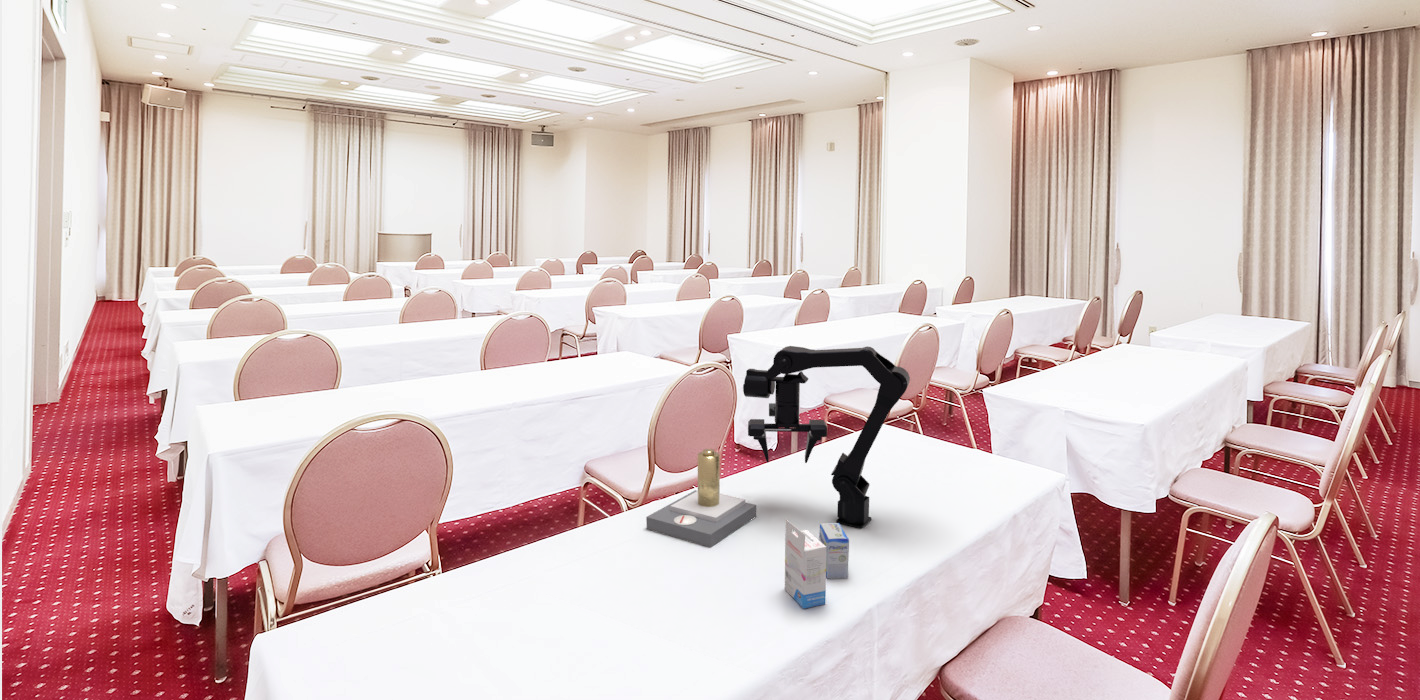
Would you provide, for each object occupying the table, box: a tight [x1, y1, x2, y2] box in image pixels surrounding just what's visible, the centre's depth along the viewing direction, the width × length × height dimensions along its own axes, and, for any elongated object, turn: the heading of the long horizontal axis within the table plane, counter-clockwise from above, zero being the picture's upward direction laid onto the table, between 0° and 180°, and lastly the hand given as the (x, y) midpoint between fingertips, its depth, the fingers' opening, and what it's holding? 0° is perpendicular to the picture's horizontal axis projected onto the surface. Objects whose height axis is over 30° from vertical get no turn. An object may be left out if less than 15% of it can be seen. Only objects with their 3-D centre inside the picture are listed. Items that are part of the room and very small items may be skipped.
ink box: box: [784, 518, 827, 610], centre depth 142 cm, size 8×5×15 cm, turn 20°
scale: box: [645, 489, 757, 548], centre depth 177 cm, size 18×20×4 cm
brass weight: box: [697, 448, 721, 507], centre depth 178 cm, size 5×5×13 cm
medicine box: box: [818, 522, 850, 580], centre depth 153 cm, size 8×4×9 cm, turn 5°
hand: (786, 462), depth 181 cm, fingers open, 9 cm apart
